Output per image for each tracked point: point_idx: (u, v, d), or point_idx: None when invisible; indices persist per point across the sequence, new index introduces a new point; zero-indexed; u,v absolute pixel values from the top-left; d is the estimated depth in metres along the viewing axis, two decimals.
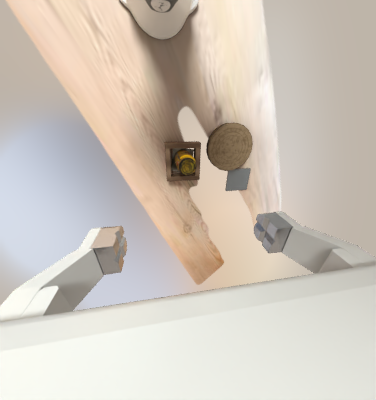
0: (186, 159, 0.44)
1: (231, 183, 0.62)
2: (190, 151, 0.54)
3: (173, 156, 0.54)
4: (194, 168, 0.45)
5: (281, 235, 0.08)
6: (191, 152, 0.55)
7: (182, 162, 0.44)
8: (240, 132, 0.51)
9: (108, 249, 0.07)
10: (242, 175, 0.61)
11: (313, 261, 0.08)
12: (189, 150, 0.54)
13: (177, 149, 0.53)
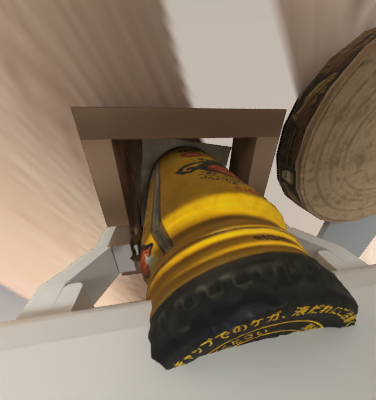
0: (259, 304, 0.03)
1: None
2: (217, 154, 0.13)
3: (147, 175, 0.13)
4: None
5: None
6: (220, 158, 0.13)
7: (191, 347, 0.03)
8: None
9: (125, 247, 0.07)
10: (364, 226, 0.20)
11: None
12: (213, 150, 0.13)
13: (162, 146, 0.12)
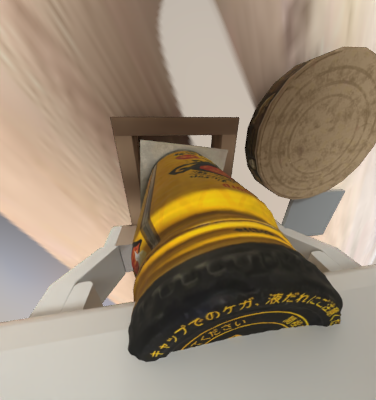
0: (232, 291, 0.03)
1: (294, 224, 0.27)
2: (214, 157, 0.13)
3: (145, 179, 0.13)
4: None
5: None
6: (218, 161, 0.14)
7: (166, 335, 0.03)
8: (364, 84, 0.16)
9: (132, 246, 0.07)
10: (322, 206, 0.26)
11: None
12: (210, 153, 0.13)
13: (160, 150, 0.12)
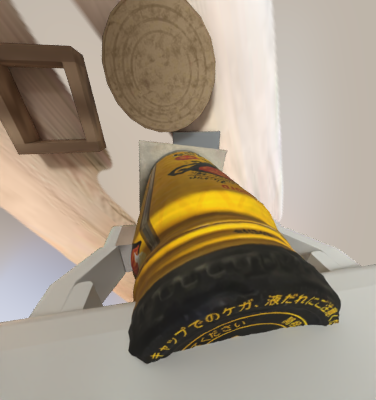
0: (232, 293, 0.03)
1: None
2: (213, 158, 0.13)
3: (144, 179, 0.13)
4: None
5: None
6: (217, 162, 0.14)
7: (166, 337, 0.03)
8: (178, 22, 0.20)
9: None
10: (204, 146, 0.30)
11: None
12: (209, 154, 0.13)
13: (159, 150, 0.12)
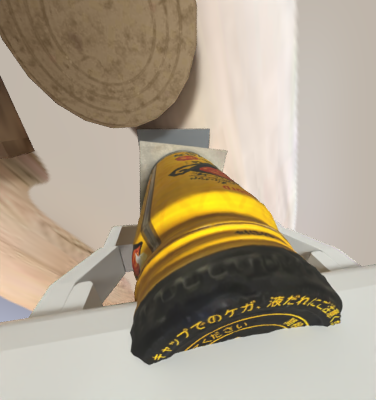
0: (234, 295, 0.03)
1: None
2: (213, 158, 0.13)
3: (145, 180, 0.13)
4: None
5: None
6: (217, 162, 0.14)
7: (169, 339, 0.03)
8: None
9: (132, 246, 0.07)
10: None
11: None
12: (210, 154, 0.13)
13: (159, 151, 0.12)
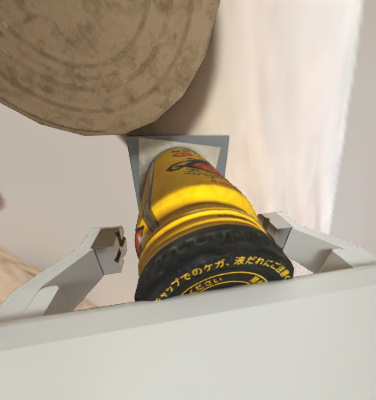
0: (211, 256, 0.04)
1: None
2: (208, 154, 0.14)
3: (143, 174, 0.14)
4: None
5: (281, 235, 0.08)
6: (211, 158, 0.15)
7: (165, 287, 0.04)
8: None
9: (108, 248, 0.07)
10: None
11: (313, 261, 0.08)
12: (204, 150, 0.14)
13: (157, 147, 0.13)
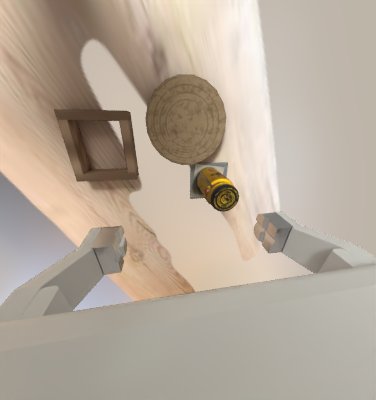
0: (224, 187, 0.27)
1: None
2: (219, 169, 0.37)
3: (195, 177, 0.37)
4: (235, 200, 0.28)
5: (281, 235, 0.08)
6: (221, 171, 0.38)
7: (217, 192, 0.27)
8: (200, 93, 0.28)
9: (108, 248, 0.07)
10: None
11: (313, 261, 0.08)
12: (218, 168, 0.37)
13: (201, 167, 0.37)
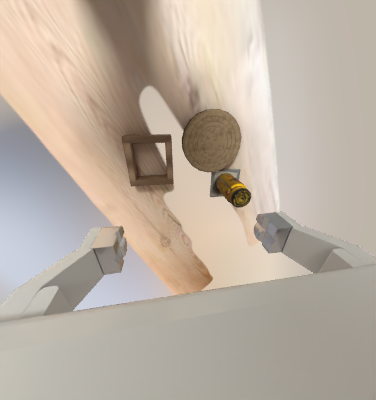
0: (241, 190, 0.38)
1: None
2: (233, 174, 0.49)
3: (215, 180, 0.48)
4: (248, 199, 0.39)
5: (281, 235, 0.08)
6: (234, 175, 0.49)
7: (236, 194, 0.38)
8: (223, 121, 0.39)
9: (108, 248, 0.07)
10: None
11: (313, 261, 0.08)
12: (233, 173, 0.48)
13: (220, 173, 0.48)
